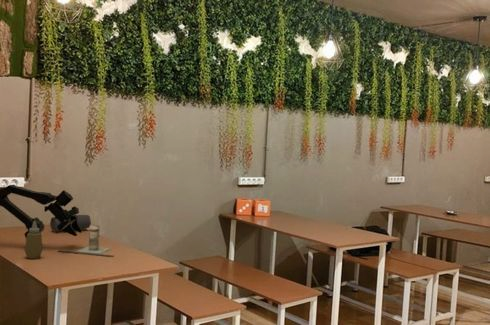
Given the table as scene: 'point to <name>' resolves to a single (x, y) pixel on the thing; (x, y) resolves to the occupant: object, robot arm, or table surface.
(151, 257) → the table surface
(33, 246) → the squeeze bottle
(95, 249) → the skittle
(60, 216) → the robot arm
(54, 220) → the bluetooth speaker
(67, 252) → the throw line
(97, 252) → the mat
